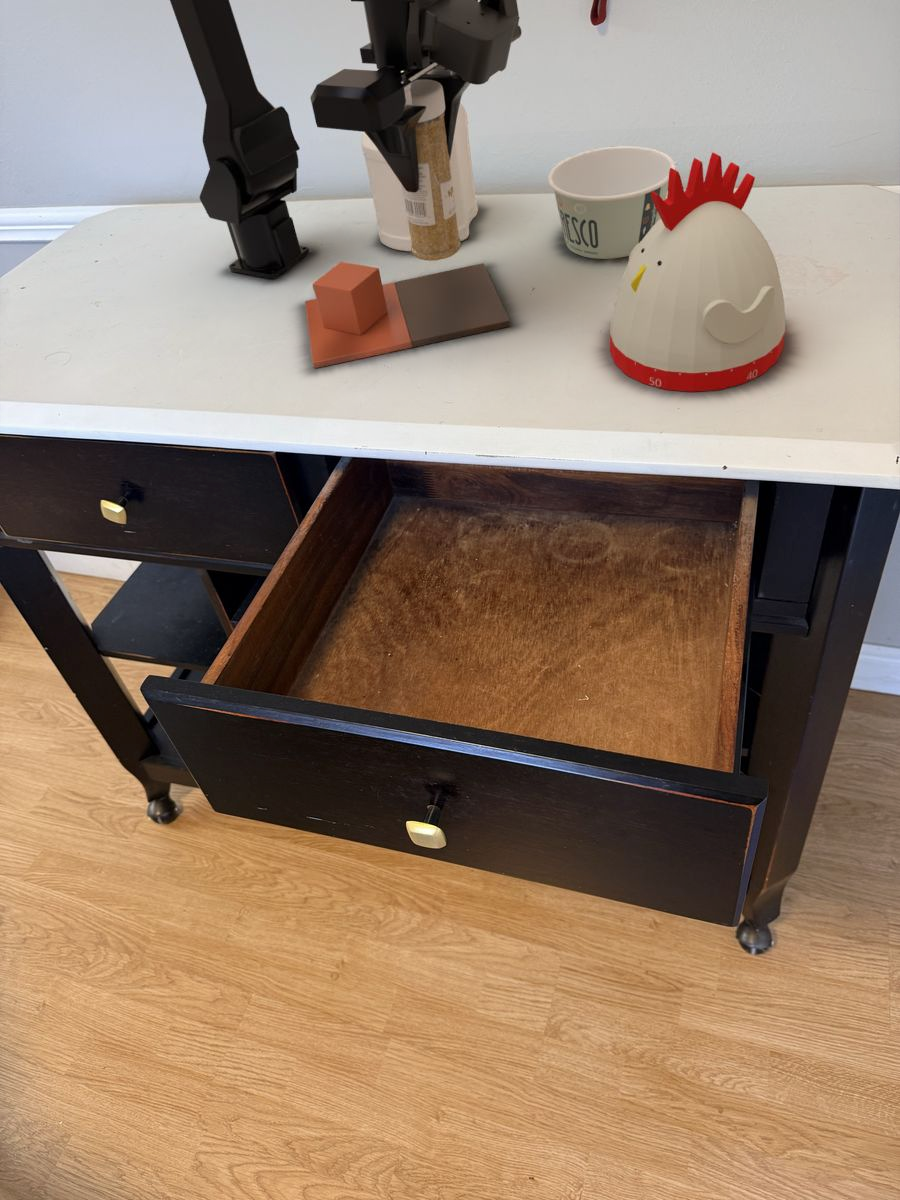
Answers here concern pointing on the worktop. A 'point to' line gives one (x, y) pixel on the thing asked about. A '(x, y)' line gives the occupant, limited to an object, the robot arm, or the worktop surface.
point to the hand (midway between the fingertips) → (427, 179)
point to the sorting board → (415, 316)
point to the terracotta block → (350, 297)
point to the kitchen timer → (700, 290)
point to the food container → (609, 198)
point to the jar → (391, 195)
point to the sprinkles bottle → (432, 180)
